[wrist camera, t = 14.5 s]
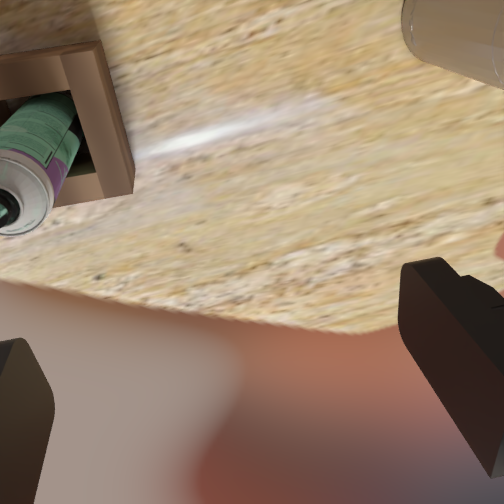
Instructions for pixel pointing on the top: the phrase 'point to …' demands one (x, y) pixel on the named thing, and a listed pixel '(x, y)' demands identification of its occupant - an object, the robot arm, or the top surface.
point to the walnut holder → (89, 111)
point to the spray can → (36, 159)
